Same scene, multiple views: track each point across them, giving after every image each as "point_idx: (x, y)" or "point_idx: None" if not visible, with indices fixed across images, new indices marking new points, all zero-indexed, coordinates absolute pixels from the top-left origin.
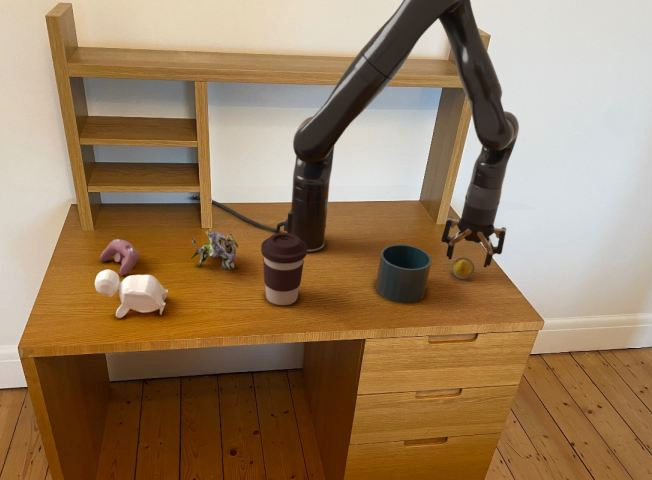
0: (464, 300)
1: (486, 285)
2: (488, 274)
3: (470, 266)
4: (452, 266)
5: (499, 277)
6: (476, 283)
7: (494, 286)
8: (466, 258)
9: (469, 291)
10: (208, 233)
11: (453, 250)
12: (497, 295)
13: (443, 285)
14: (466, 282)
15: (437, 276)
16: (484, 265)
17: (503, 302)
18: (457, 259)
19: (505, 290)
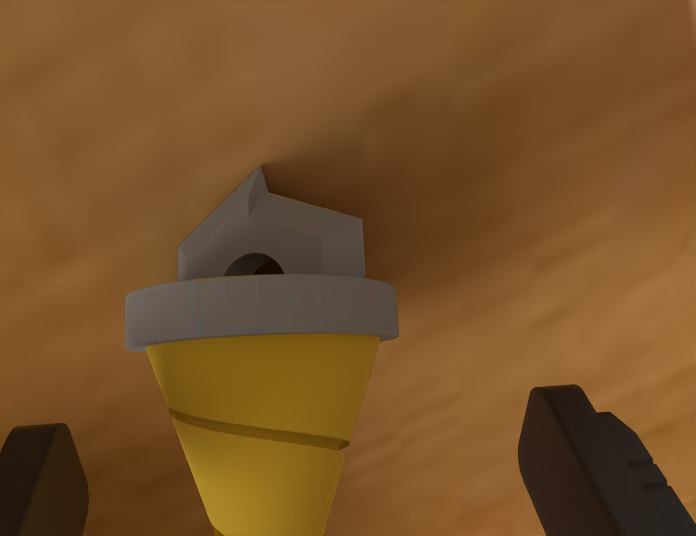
0: (358, 528)
1: (519, 290)
2: (555, 67)
3: (355, 421)
4: (136, 349)
5: (677, 72)
6: (427, 303)
7: (593, 270)
8: (271, 330)
9: (378, 431)
10: None
11: (32, 527)
12: (600, 379)
13: (160, 456)
14: None
15: (50, 368)
16: (533, 488)
17: None
18: (151, 339)
19: (684, 284)
